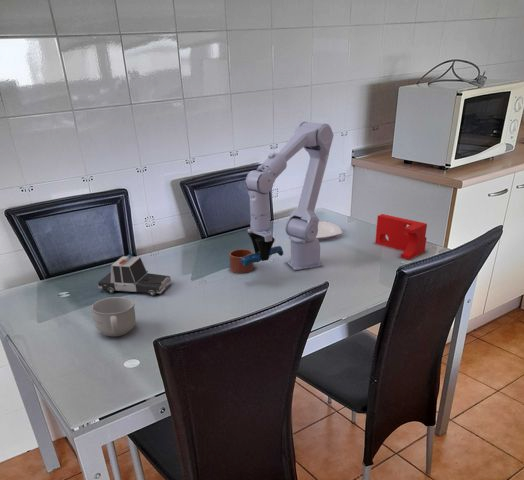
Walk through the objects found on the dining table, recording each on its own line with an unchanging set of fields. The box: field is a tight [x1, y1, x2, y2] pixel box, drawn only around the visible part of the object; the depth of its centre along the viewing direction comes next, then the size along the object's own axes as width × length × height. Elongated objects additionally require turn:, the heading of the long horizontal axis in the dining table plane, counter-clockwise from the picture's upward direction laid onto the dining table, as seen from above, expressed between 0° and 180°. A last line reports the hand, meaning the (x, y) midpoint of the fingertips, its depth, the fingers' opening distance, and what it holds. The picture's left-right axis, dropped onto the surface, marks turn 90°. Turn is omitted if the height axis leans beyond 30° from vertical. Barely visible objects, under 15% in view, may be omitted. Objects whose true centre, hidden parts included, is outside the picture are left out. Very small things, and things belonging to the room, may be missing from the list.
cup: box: [228, 248, 255, 274], centre depth 167 cm, size 8×8×6 cm
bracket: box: [374, 213, 428, 260], centre depth 176 cm, size 18×10×10 cm
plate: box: [316, 220, 343, 241], centre depth 195 cm, size 19×19×2 cm
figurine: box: [241, 245, 284, 266], centre depth 155 cm, size 5×4×15 cm
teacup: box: [90, 296, 136, 337], centre depth 131 cm, size 14×11×8 cm
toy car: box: [97, 254, 173, 297], centre depth 155 cm, size 10×21×10 cm, turn 78°
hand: (261, 257), depth 155 cm, fingers closed on figurine, 5 cm apart
